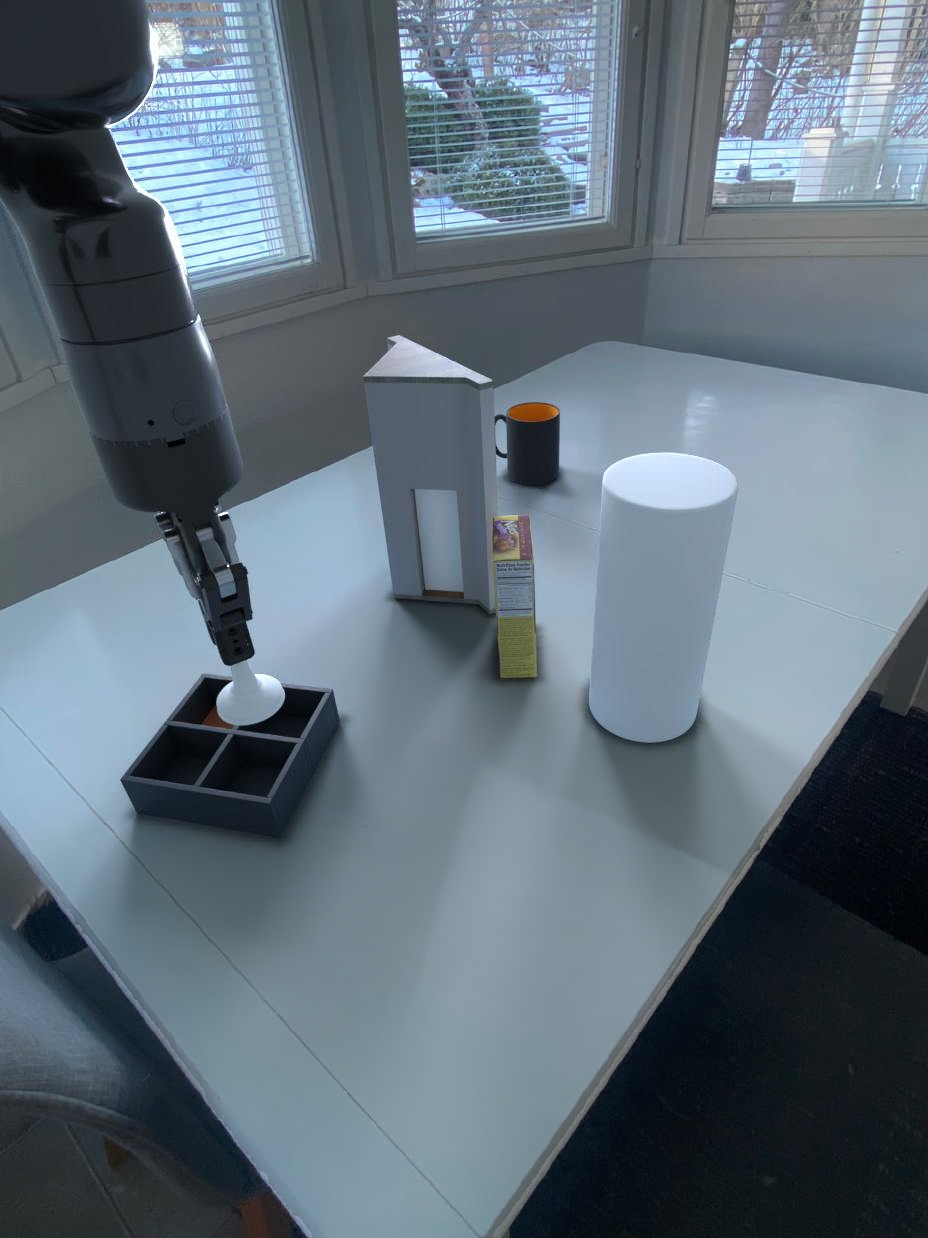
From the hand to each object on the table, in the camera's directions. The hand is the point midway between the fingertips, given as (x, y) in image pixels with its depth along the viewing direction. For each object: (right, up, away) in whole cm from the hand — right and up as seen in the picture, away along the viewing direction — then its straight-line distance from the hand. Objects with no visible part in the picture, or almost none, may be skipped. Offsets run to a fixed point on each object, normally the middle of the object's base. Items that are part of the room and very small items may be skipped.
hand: (233, 648), depth 51 cm
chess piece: (0, -4, +3) cm, 5 cm away
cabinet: (+11, +6, +43) cm, 45 cm away
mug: (+26, +26, +68) cm, 77 cm away
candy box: (+22, -2, +31) cm, 38 cm away
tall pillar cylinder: (+34, -7, +23) cm, 42 cm away
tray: (-5, -12, +20) cm, 24 cm away
